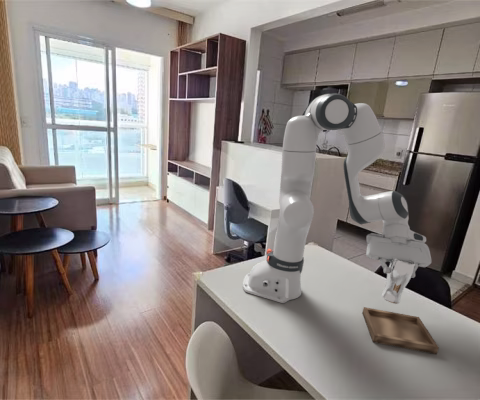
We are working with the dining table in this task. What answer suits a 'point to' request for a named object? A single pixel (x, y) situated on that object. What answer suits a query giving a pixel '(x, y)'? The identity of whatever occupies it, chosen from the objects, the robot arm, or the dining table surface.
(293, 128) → the robot arm
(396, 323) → the walnut tray
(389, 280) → the beer glass
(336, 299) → the dining table surface
